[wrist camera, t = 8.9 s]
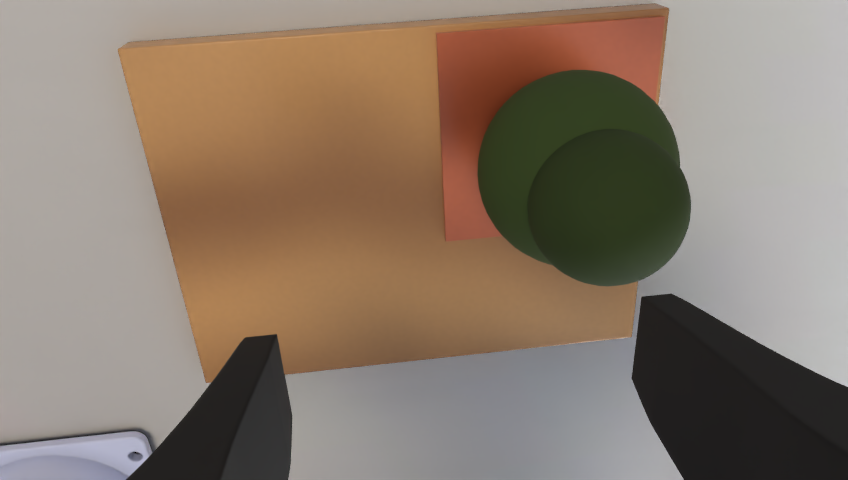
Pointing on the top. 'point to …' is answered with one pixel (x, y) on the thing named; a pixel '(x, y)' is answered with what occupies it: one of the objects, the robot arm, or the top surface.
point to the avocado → (586, 177)
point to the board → (367, 183)
